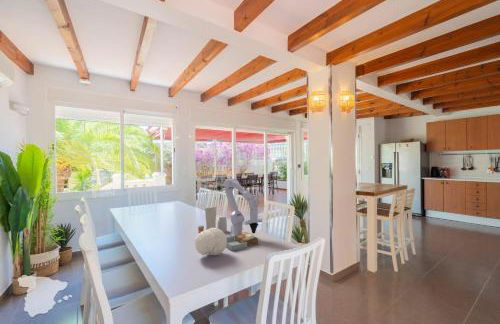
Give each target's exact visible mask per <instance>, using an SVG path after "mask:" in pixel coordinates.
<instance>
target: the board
mask: <svg viewBox="0 0 500 324" xmlns="http://www.w3.org/2000/svg"><path fill="white" fill-rule="evenodd" d="M235 241H237V242H239V243H245V242H247V247H251V246H256V245H258V244H259V238H258V237H256V236H254V238H253V239H247V238H245V237H243V236H241V234H239V235H235ZM250 245H251V246H250Z"/></svg>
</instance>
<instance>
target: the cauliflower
mask: <svg viewBox="0 0 500 324" xmlns="http://www.w3.org/2000/svg"><path fill="white" fill-rule="evenodd" d="M226 238H227V236H226V233H225V232H223V231H222V230H220V229H218V227H216V228H209V229H207V230H204V231H202V232H201V233H199V234H198V233H197V235H196V236H195V238H194V245H195V246H194V247H195V250H196V251H197V253H198V254H200V255H201V256H204V255H210V256H219V255H221V254H222V253H223V252H224V250H225V249H226V244H227V239H226Z"/></svg>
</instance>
